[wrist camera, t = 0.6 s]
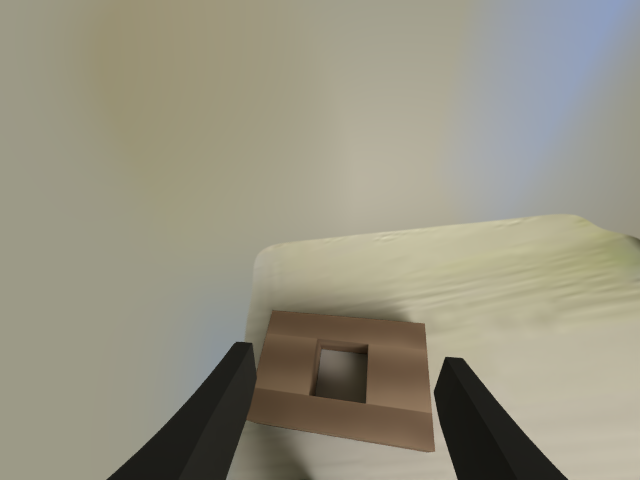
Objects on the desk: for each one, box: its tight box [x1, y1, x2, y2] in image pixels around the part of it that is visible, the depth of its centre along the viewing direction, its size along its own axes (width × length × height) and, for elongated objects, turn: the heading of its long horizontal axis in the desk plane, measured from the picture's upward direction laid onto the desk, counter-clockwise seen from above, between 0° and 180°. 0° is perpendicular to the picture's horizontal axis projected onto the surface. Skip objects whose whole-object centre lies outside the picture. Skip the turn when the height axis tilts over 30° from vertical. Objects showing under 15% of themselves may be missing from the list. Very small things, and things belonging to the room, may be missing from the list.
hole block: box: [246, 310, 435, 452], centre depth 24 cm, size 9×14×3 cm, turn 82°
